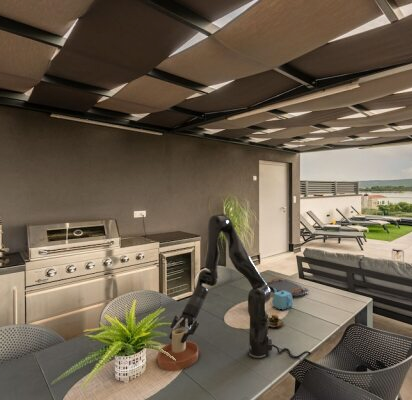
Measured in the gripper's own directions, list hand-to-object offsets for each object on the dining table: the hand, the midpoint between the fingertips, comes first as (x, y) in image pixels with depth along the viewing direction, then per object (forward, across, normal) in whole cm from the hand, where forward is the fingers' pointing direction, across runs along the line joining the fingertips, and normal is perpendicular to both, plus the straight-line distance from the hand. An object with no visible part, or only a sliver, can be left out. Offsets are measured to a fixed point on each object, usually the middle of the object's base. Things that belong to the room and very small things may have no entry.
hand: (176, 340), depth 129 cm
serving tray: (-73, +12, +87) cm, 115 cm away
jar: (+2, 0, +5) cm, 5 cm away
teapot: (-50, +21, +64) cm, 83 cm away
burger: (-31, +27, +44) cm, 60 cm away
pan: (+5, 0, +8) cm, 9 cm away
